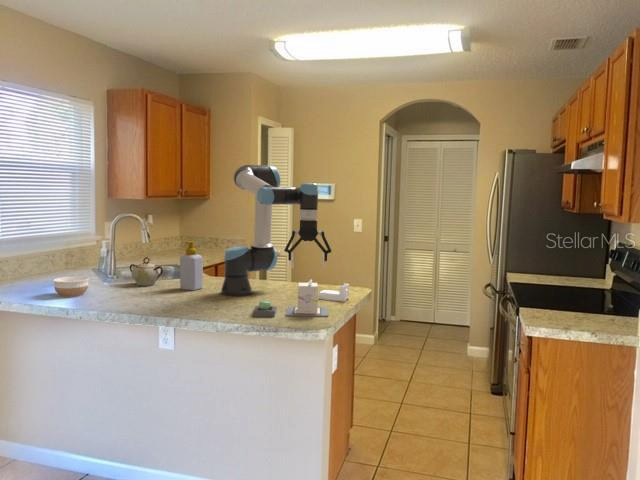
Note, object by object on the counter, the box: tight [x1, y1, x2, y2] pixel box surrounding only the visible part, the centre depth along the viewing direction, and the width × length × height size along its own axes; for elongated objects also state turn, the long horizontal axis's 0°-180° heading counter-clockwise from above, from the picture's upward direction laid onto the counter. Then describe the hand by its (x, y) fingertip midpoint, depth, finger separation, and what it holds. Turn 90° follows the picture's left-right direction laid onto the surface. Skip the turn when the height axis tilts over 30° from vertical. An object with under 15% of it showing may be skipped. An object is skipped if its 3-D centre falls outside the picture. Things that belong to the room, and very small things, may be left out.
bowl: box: [52, 275, 90, 298], centre depth 259 cm, size 16×16×8 cm
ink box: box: [297, 278, 319, 313], centre depth 231 cm, size 9×8×13 cm
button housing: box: [252, 305, 277, 318], centre depth 227 cm, size 9×9×2 cm
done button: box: [258, 300, 272, 310], centre depth 226 cm, size 5×5×3 cm
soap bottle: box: [179, 240, 204, 291], centre depth 277 cm, size 9×9×25 cm
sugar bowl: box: [129, 256, 164, 287], centre depth 288 cm, size 20×15×15 cm
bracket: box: [318, 283, 350, 302], centre depth 259 cm, size 13×7×8 cm, turn 70°
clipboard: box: [285, 305, 329, 318], centre depth 232 cm, size 18×16×1 cm
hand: (307, 268), depth 230 cm, fingers open, 13 cm apart
